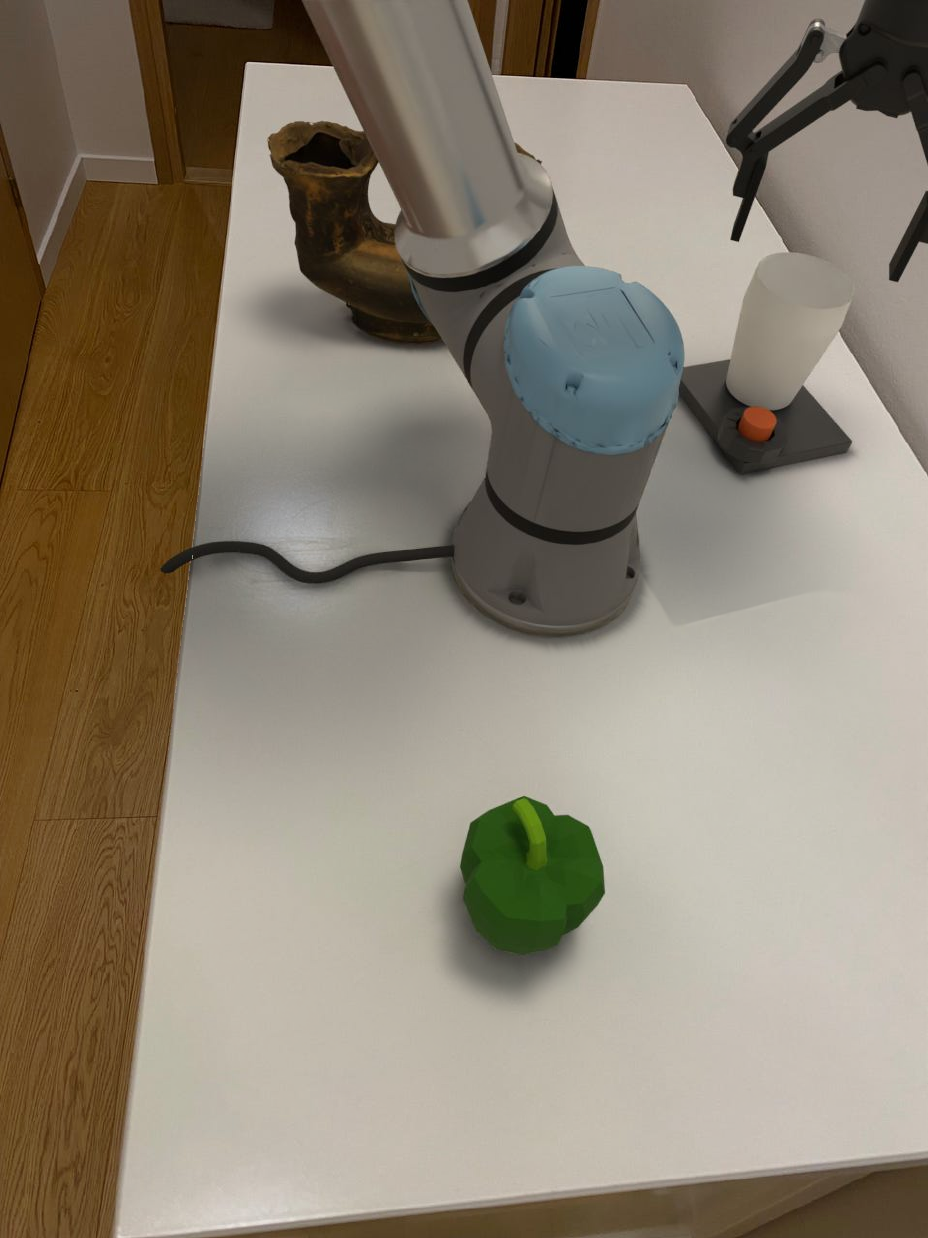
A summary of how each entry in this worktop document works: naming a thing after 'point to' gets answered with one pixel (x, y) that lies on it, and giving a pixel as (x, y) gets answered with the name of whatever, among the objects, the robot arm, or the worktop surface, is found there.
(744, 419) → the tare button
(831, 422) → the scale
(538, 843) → the bell pepper
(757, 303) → the cup
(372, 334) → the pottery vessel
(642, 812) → the worktop surface
